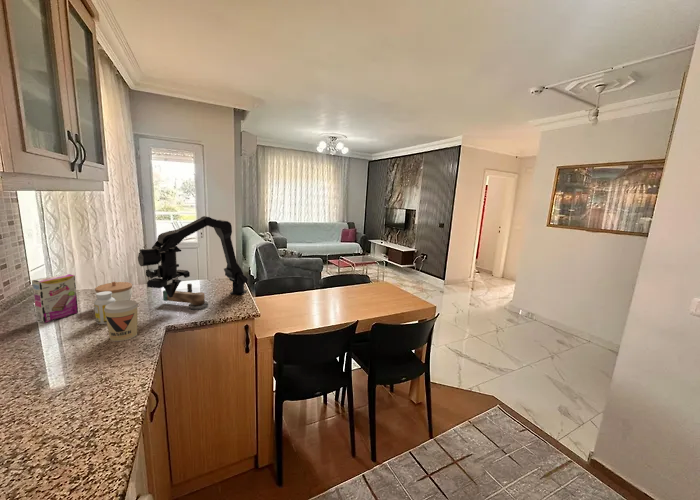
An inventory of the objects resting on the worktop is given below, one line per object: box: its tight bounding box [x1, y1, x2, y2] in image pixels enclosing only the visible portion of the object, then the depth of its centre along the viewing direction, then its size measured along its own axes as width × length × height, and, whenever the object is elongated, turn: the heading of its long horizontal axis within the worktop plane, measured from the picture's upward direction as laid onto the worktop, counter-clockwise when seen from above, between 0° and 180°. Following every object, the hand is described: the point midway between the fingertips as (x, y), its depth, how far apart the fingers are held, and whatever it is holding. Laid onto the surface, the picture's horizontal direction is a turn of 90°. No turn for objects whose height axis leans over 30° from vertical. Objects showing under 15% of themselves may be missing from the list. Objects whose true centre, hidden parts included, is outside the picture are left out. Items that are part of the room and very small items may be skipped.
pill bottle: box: [93, 291, 116, 325], centre depth 112 cm, size 6×6×12 cm
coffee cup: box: [104, 299, 139, 342], centre depth 102 cm, size 9×9×12 cm
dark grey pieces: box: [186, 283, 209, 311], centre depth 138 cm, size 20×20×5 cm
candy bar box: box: [31, 273, 79, 324], centre depth 113 cm, size 11×5×16 cm, turn 164°
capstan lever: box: [162, 289, 206, 306], centre depth 133 cm, size 20×5×4 cm, turn 84°
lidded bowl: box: [94, 281, 133, 302], centre depth 127 cm, size 13×13×11 cm
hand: (170, 297), depth 126 cm, fingers closed
